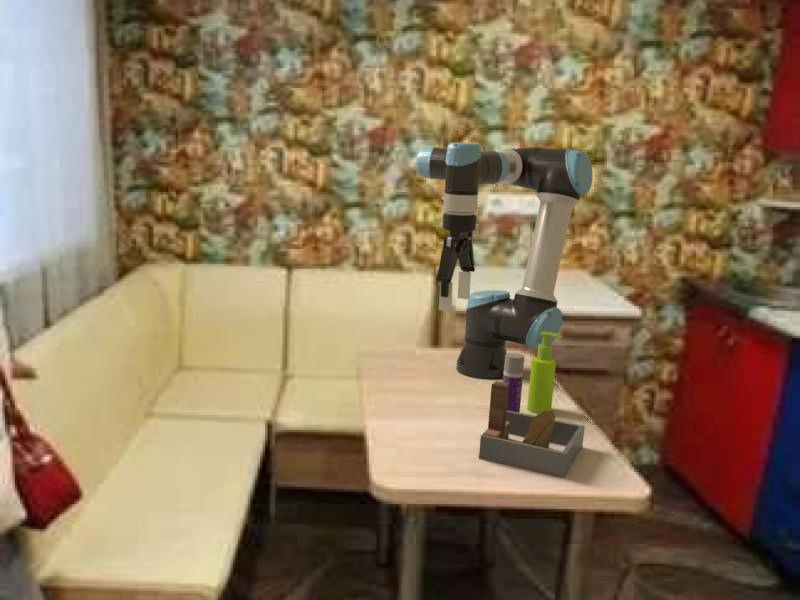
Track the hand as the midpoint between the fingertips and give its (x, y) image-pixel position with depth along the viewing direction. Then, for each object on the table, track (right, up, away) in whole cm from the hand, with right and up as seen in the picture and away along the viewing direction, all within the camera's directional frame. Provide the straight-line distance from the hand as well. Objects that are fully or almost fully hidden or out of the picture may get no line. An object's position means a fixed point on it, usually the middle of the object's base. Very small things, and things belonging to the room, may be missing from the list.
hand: (454, 304), depth 183 cm
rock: (+15, -32, -13) cm, 38 cm away
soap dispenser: (+22, -27, +14) cm, 37 cm away
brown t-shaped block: (+8, -31, -9) cm, 33 cm away
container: (+14, -27, +10) cm, 32 cm away
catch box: (+16, -32, -12) cm, 38 cm away
